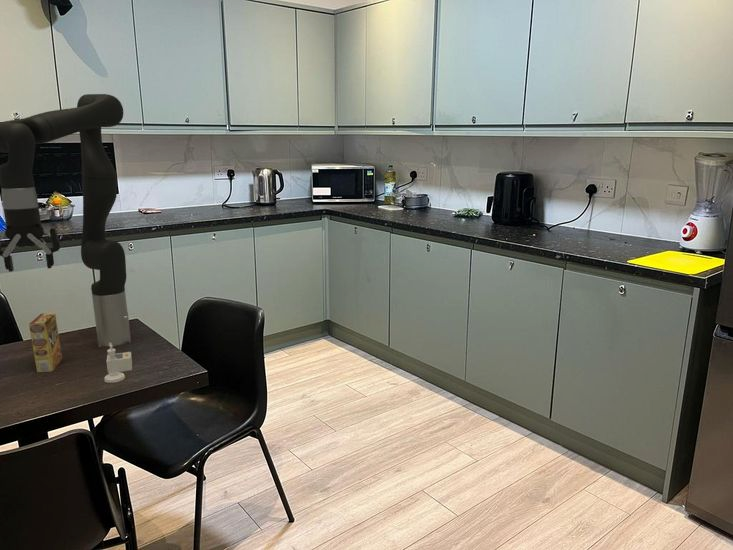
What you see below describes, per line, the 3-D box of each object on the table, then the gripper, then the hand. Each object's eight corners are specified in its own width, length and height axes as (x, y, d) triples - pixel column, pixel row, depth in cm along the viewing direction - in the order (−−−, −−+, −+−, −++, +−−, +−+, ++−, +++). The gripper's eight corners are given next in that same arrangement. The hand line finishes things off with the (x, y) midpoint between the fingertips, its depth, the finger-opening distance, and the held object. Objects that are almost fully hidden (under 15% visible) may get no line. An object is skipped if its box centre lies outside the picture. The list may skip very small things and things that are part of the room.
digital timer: (132, 363, 153) (130, 350, 152) (132, 370, 148) (130, 357, 148) (108, 366, 151) (107, 354, 150) (107, 373, 146) (106, 360, 145)
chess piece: (120, 373, 147) (116, 338, 144) (127, 378, 143) (123, 343, 141) (101, 378, 143) (97, 342, 141) (108, 384, 140) (103, 347, 138)
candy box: (53, 375, 148) (45, 322, 145) (36, 377, 147) (28, 323, 144) (63, 363, 157) (56, 312, 153) (47, 364, 156) (39, 313, 152)
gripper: (55, 203, 142) (63, 264, 146) (-10, 205, 136) (1, 268, 140) (51, 206, 135) (60, 270, 139) (-17, 209, 130) (-6, 275, 134)
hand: (30, 269), depth 140 cm, fingers open, 8 cm apart
